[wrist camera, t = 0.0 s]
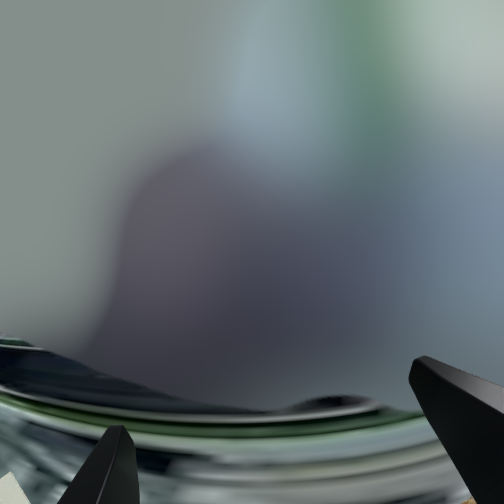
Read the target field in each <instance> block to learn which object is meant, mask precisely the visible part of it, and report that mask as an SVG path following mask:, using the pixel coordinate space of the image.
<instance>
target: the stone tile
mask: <svg viewBox="0 0 504 504" xmlns="http://www.w3.org/2000/svg"><path fill="white" fill-rule="evenodd" d="M0 504H31V503H30V502H29V500H28V498H27V497H26V495H25V494H24V492H23V490H22V489H21V487H20V485H19V484H18V482H17V480H16V479H15V477H14V475H13V474H12V473H11V472H9V473H8V474H7V475H5V476H4V477H2V478H1V479H0Z"/></svg>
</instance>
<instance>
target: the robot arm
mask: <svg viewBox="0 0 504 504" xmlns="http://www.w3.org/2000/svg"><path fill="white" fill-rule="evenodd" d="M409 383H410V385H411V387H412V389H413V392H414V394H415V395H416V398H417V400H418V402H419V404H420V406H421V408H422V410H423V412H424V414H425V416H426V418H427V420H428V422H429V423H430V425H431V427H432V428H433V430H434V431H435V433H436V435H437V436H438V438H439V440H440V441H441V443H442V445H443V446H444V448H445V450H446V451H447V453H448V455H449V456H450V458H451V460H452V461H453V463H454V465H455V467H456V468H457V470H458V472H459V473H460V475H461V477H462V479H463V480H464V482H465V484H466V486H467V488H468V489H469V491H470V493H471V495H472V496H473V498H474V500H475V502H476V504H504V387H502V386H500V385H497V384H495V383H492V382H490V381H487V380H485V379H482V378H480V377H477V376H474V375H472V374H470V373H467V372H465V371H462V370H460V369H457V368H455V367H452V366H450V365H447V364H445V363H442V362H440V361H438V360H435V359H433V358H430V357H428V356H421V357H418V358H416V359H414V361H413V363H412V366H411V370H410V373H409ZM57 504H140V493H139V482H138V474H137V465H136V455H135V446H134V442H133V440H132V438H131V437H130V435H129V433H128V432H127V430H126V428H125V427H124V426H123V425H111V426H109V427H108V428H107V430H106V431H105V433H104V434H103V436H102V437H101V439H100V440H99V442H98V443H97V445H96V446H95V448H94V449H93V450H92V452H91V453H90V455H89V456H88V458H87V459H86V461H85V462H84V464H83V465H82V467H81V468H80V470H79V471H78V473H77V474H76V476H75V477H74V479H73V480H72V482H71V483H70V485H69V486H68V488H67V489H66V491H65V492H64V494H63V495H62V497H61V498H60V500H59V501H58V503H57Z"/></svg>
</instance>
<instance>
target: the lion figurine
mask: <svg viewBox="0 0 504 504" xmlns="http://www.w3.org/2000/svg"><path fill="white" fill-rule="evenodd" d="M461 504H476V502H475V500H474V498H473V496H471V497H470V499H468V500H467V501H465V502H463V503H461Z"/></svg>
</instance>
